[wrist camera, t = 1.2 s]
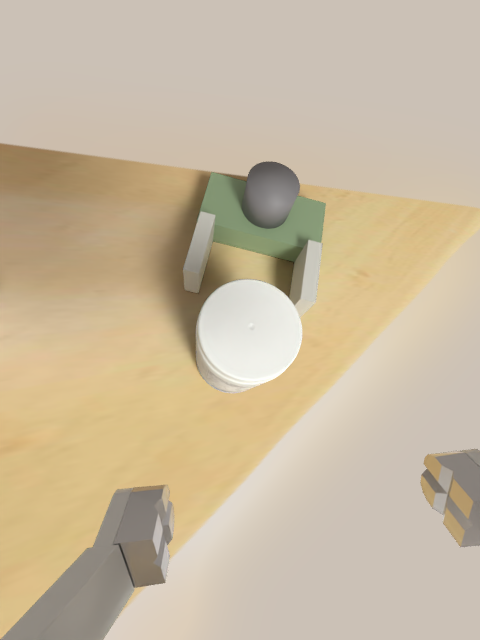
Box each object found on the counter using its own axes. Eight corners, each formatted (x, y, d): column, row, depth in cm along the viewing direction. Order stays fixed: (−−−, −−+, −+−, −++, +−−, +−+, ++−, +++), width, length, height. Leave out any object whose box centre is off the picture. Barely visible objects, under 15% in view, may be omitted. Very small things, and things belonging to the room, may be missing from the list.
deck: (181, 289, 40) (177, 255, 32) (210, 191, 47) (213, 141, 38) (302, 318, 42) (330, 293, 33) (315, 220, 48) (341, 177, 39)
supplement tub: (205, 316, 40) (210, 263, 26) (271, 332, 40) (310, 288, 27) (187, 386, 36) (182, 368, 23) (259, 402, 37) (297, 393, 23)
